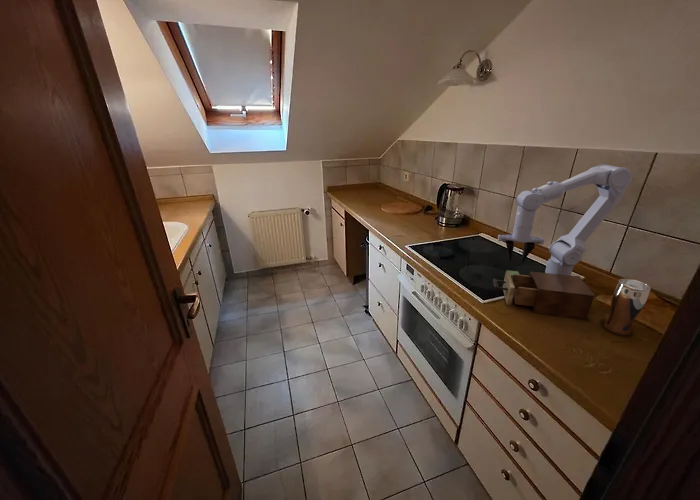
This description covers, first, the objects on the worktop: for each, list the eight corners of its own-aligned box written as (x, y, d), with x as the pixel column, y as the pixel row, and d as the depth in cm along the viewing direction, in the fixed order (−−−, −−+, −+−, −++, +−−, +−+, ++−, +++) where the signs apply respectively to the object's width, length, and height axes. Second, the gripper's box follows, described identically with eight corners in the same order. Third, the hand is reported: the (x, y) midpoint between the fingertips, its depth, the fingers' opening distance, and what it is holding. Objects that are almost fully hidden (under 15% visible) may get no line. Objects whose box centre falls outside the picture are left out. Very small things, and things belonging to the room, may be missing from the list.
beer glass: (618, 320, 91) (635, 277, 85) (639, 335, 85) (659, 290, 79) (596, 321, 91) (611, 278, 85) (615, 336, 85) (633, 291, 79)
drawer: (493, 303, 100) (496, 285, 98) (490, 286, 110) (492, 270, 108) (553, 311, 95) (558, 293, 92) (544, 293, 105) (549, 276, 102)
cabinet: (533, 311, 97) (539, 289, 93) (525, 292, 108) (530, 271, 104) (586, 319, 92) (594, 295, 89) (572, 298, 103) (579, 276, 100)
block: (504, 279, 117) (506, 270, 115) (516, 280, 116) (518, 271, 114) (506, 284, 113) (508, 274, 112) (518, 285, 112) (520, 276, 111)
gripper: (543, 223, 107) (535, 257, 112) (499, 220, 111) (493, 254, 117) (548, 229, 101) (540, 265, 106) (501, 226, 105) (495, 261, 110)
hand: (515, 260), depth 111 cm, fingers open, 4 cm apart
